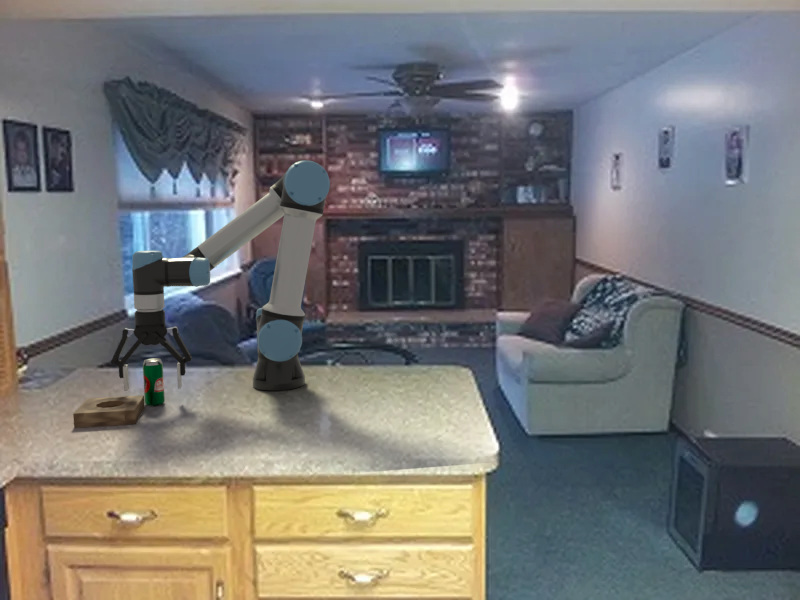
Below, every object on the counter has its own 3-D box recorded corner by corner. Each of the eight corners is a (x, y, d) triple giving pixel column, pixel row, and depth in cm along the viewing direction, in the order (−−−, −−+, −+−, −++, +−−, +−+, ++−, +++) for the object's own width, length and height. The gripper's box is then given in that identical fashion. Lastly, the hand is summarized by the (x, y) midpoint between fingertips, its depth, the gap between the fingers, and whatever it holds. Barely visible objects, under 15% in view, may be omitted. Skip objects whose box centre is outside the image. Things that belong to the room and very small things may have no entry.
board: (144, 408, 191) (144, 395, 191) (135, 424, 178) (134, 410, 177) (88, 411, 189) (87, 398, 188) (74, 427, 175) (73, 413, 175)
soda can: (158, 407, 193) (156, 362, 191) (141, 406, 194) (138, 361, 192) (168, 401, 198) (166, 358, 196) (151, 401, 199) (148, 357, 197)
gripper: (199, 306, 198) (202, 383, 201) (102, 309, 194) (106, 387, 196) (197, 310, 191) (200, 389, 194) (96, 313, 186) (100, 394, 189)
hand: (153, 388), depth 195 cm, fingers open, 13 cm apart
